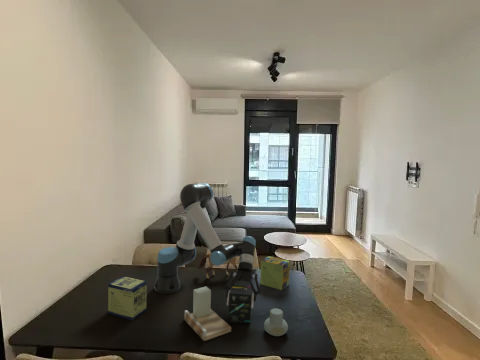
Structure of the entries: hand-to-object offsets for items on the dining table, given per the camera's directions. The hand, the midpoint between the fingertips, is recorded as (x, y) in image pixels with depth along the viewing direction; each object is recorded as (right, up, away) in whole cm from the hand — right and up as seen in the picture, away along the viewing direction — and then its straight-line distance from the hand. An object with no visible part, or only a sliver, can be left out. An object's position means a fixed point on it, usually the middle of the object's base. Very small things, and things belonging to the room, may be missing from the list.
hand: (239, 306), depth 146 cm
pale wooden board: (-15, -7, -4) cm, 17 cm away
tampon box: (0, -7, +3) cm, 8 cm away
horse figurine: (-13, -3, +56) cm, 58 cm away
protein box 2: (+22, -5, +44) cm, 49 cm away
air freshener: (+16, -9, -8) cm, 20 cm away
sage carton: (-19, -4, +2) cm, 19 cm away
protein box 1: (-56, -5, +5) cm, 57 cm away
